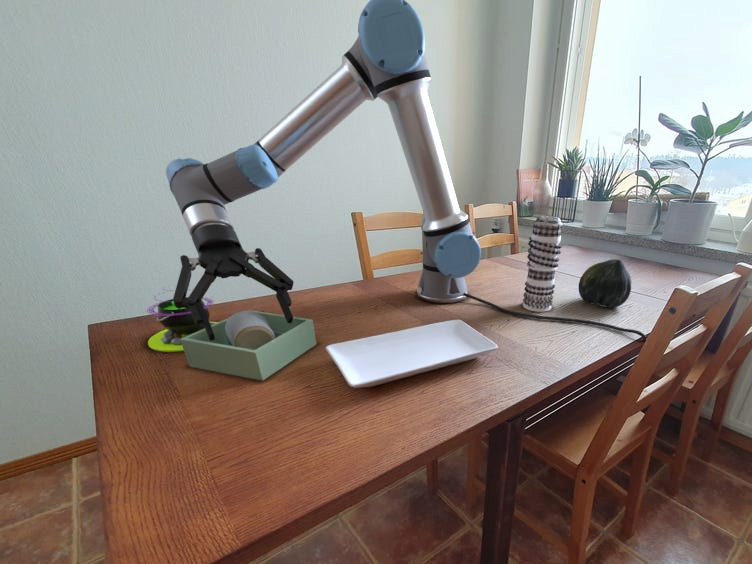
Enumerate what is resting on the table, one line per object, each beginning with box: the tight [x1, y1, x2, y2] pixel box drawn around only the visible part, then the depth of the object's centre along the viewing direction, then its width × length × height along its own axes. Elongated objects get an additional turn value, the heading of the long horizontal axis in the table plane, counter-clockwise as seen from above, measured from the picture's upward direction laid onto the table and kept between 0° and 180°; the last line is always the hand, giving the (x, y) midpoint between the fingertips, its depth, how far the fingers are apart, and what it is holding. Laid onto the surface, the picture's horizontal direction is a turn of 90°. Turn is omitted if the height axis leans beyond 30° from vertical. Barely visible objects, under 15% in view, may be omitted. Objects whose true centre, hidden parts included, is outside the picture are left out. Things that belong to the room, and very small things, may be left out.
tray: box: [325, 319, 499, 389], centre depth 77 cm, size 17×31×4 cm, turn 124°
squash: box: [578, 258, 632, 309], centre depth 112 cm, size 14×15×15 cm
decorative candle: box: [522, 215, 564, 313], centre depth 104 cm, size 9×9×25 cm
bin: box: [180, 309, 318, 381], centre depth 75 cm, size 16×16×6 cm
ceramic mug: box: [225, 310, 284, 350], centre depth 75 cm, size 11×8×8 cm
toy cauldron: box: [146, 286, 218, 353], centre depth 79 cm, size 15×15×11 cm
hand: (253, 328), depth 72 cm, fingers open, 13 cm apart
